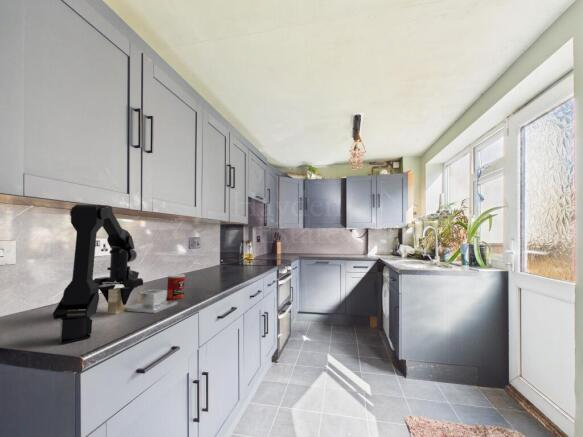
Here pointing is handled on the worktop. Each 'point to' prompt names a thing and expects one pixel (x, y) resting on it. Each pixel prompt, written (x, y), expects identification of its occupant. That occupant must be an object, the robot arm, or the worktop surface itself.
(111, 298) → the rail end
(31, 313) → the worktop surface
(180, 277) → the canned food
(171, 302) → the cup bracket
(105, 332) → the worktop surface
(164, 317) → the worktop surface
